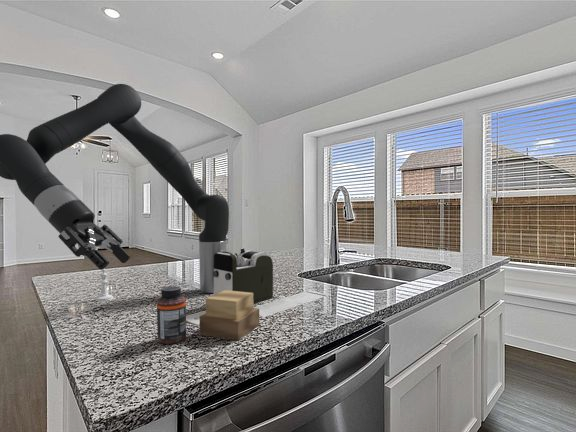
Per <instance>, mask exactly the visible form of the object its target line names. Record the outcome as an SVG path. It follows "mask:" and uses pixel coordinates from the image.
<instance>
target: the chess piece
mask: <svg viewBox="0 0 576 432" xmlns="http://www.w3.org/2000/svg"><path fill="white" fill-rule="evenodd" d="M100 272H102V273H101V274H100V278H101V281H100V282H99V283H100V284H102V285H101V291H100V292H101V293H100V294H99V295H98V296H96V297H95V301H96V302H107V301H111V300H113V299H114V295H112V294H109V293H108V289H107V284H106V283H108V282H109V281H108V280H107V277H108V273H106V272H107V269H106V267H105V268H104V269H102V270H100Z"/></svg>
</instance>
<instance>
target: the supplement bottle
mask: <svg viewBox="0 0 576 432" xmlns="http://www.w3.org/2000/svg"><path fill="white" fill-rule="evenodd" d="M160 292H161V293H160V295H161V297H159V298H158V299H157V301H156V316H157V317H156V319H157V320H156V322H157V323H156V324H157V331H156V333H157V341H158V342H159V343H160V344H164V345H170V344H171V345H173V344H178V343H180V342H182V341H184V340H186V338H187V321H186V316H187V305H186V304H187V303H186V302H187V301H186V298H185V297H184V296H183V295H182V290H181V286H178V285H172V286H171V285H170V286H165V287H162V288H161V291H160Z"/></svg>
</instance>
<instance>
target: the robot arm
mask: <svg viewBox="0 0 576 432" xmlns="http://www.w3.org/2000/svg"><path fill="white" fill-rule="evenodd" d="M141 107H142V98H141V96H140V94H139V93H138V91H137V90H136V89H135V88H134V87H133V86H131V85H129V84H126V83H117V84H113V85H111V86H110V87H108V88H107V89H105V90H104V91H103V92H102V93H100V94H99V95H98V96H97V98H95V99H94V100H91V101H90V102H88V103H86V104H84V105H82V106H80V107H78V108H75V109H72V110H70V111H68V112H66V113H64V114H61V115H59V116H56V117H54V118H51V119H50V120H47V121H45V122H43V123H41V124H39V125H37V126H35V127H33V128H32V129H30V130H29V132H28V135H27V139H26V140H25V139H24V138H23V137H20V136H18V135H15V134H10V133H3V134H0V177H1V178H3V179H5V180H10V181H15V182H16V185H17V186H18V187H17V188H18V189H19V191H20V192H21V194H22V195H23V196H24V197H25V198H26V199H27V200H28V201H29V202H30V203H31V204H32V205H33V206H34V207H35V208H36V209H37V211H38V212H39V214H40V215H41V216H42V217H43V218H44V219H45V220H46V221H47V222H48V223H49V224H50V225H51V226H52V227H53V228H54V229H55V230H56V231H57V232H58V233H59V235H58V238H59V239H60V240H61V242H62V243H63V244H64V245H65V246H66V247H67V248H68V250H70V251H71V253H72V254H73V255H74V256H75V257H78V258H79V257H81V256H83V257H84V258H86V259H87V258H88V259H89V260H90V261H91V262H92V263H93V264H94V265H95V266H96V268H97V269H99V270H100V271H101V270H103V269H104V268H105V269H106V268H107V267H108V266H109V264H110V260H109V259H107V258H106V256H105V255H104V254H102V252H101V251H99V249H100V250H101V249H102V250H103V249H105V250H107V251H109V252H111V253H112V254H113V255H114V257H116V258H117V259H118V260H119V262H121V264H126V263H127V262H128V261H129V260H130V259H131V255H130V254H129V253H128V252H127V251H126V250H125V249H124V248H123V247H122V246H121V245H122V244H123V242H124V241H123V239H121V238H120V236H118V235H117V234H116V233H115V232H114V231H113V229H111V228H110V227H109V226H108V225H107V224H103V225H102V226H98V225H97V224H95V223H94V222H95V221H94V220H95V217H96V215H95V213H94V212H93V211H92V210H91V209H90V208H89V207H88V206H87V205H86V203H84V202H83V201H82V200H81V199H80V198H79V197H78V196H77V195H76V193H74V192H73V191H72V190H70V189H69V188H68V187H66V186H65V185H64V184H63V183H62V182H61V181H60V180H59V179H58V178H57V177H56V176H55V175H54V174H53V173H52V172H51V171H50V170H49V168H48V167H47V165H46V164H47V163H48V162H49V161H50V160H51V159H52V158H53V157H55V155H57V154H59V153H61V152H63V151H65V150H66V149H68V148H70V147H72V146H74V145H76V144H77V143H80V142H81V141H82V140H84V139H85V138H86V137H88V136H90V135H91V134H92V133H94V132H95V131H97V130H99V129H100V128H102V127H104V126H106V125H108V124H109V125H110V126H111V127H112V128H114V129H115V130H116V131H117V132H118V133H119V134H120V135H122V136H123V137H124V138H125V139H126V140H127V141H128V142H129V143H130V144H131V145H132V146H133V147H134V148H135V149H136V150H137V151H138V152H139V153H140V154H141V155H142V156H143V157H144V158H145V160H146V161H147V162H149V164H150V165H151V166H152V167H153V169H155V170H156V171H157V173H159V175H160V176H161V177H163V179H164V180H165V181H166V182H167V183H168V184H169V185H170V186H171V187H172V188H173V189H174V190H175V191H176V192H177V193H178V194H179V195H180V196H181V197H182V199H184V202H186V204H187V205H188V206H189V208H191V210H192V211H193V213H194V215H196V217H197V218H198V219H200V220H201V221H204V229H203V230H202V231H201V232H200V233H199V234H198V241H199V242H198V253H199V254H198V255H199V258H198V259H199V260H198V261H199V292H201V293H206V294H207V293H208V294H212V293H213V294H214V276H213V272H214V255H215V254H216V253H219V252H227V236H228V233H229V224H230V223H229V222H230V220H229V219H230V218H229V217H230V210H229V209H230V208H229V203H228V201H227V199H226V198H225V197H224V196H223V195H220V194H208V193H207V192H205V190H204V189H203V188H202V187H201V186H200V185H199V183H198V182H197V181H196V180H195V177H194V175H193V171H192V169H191V166H190V164H189V162H188V161H187V159H186V158H185V157H184V155H183V154H182V153H181V152H180V151H179V150H178V148H177V147H176V146H174V144H173V143H171V142H169V141H168V140H166V138H165V139H164V138H163V137H161V136H159V135H157V134H155V133H154V132H152V131H150V130H149V129H147V128H146V127H145V126H144V125H143V124H142V123H141V122H140V121H139V120H138V118H137V117H136V115H138V113H139V112H140V110H141ZM76 245H77V247H78V248H77V247H76ZM96 247H98V248H99V249H97V248H96Z"/></svg>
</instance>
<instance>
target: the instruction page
mask: <svg viewBox="0 0 576 432" xmlns="http://www.w3.org/2000/svg"><path fill="white" fill-rule="evenodd" d="M204 314H206V309H205V310H203V311H198V312H196V313H192V314H189V315H186V323H190V324H192V325H196V326H200V316H202V315H204Z"/></svg>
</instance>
